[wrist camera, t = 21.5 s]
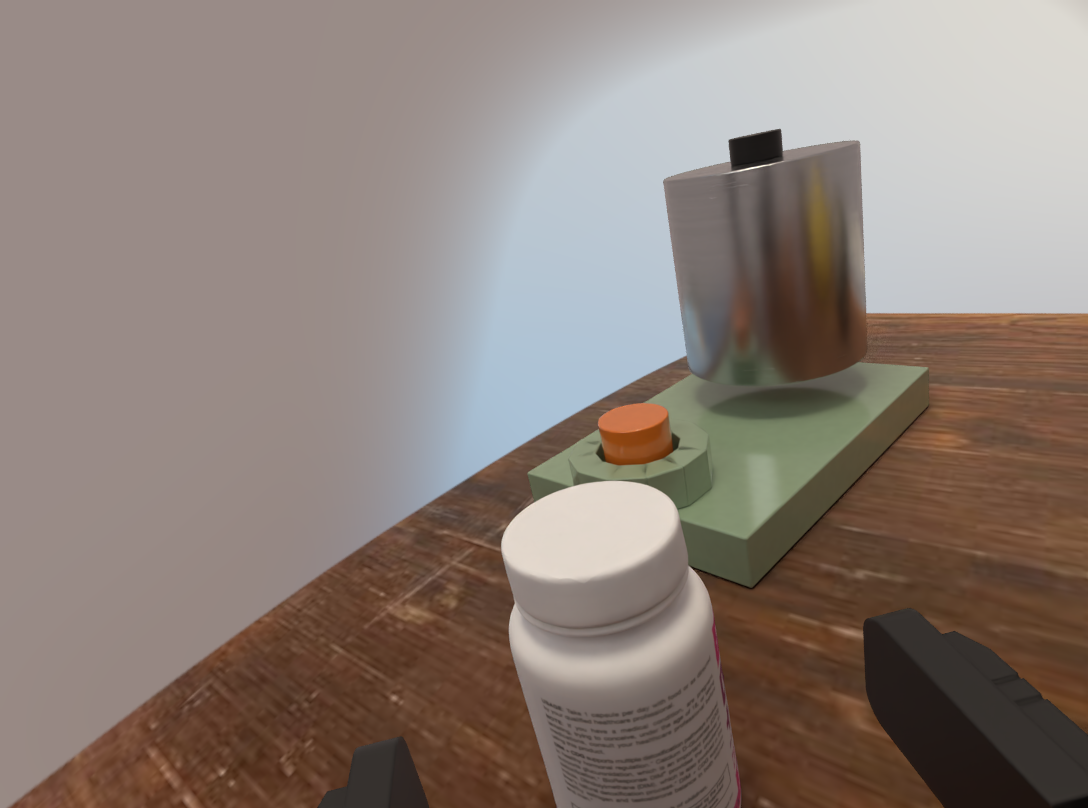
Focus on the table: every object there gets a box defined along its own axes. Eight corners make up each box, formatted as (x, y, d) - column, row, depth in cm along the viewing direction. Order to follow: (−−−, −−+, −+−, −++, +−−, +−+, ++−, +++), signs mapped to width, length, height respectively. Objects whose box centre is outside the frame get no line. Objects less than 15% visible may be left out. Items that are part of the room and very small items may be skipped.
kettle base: (733, 608, 23) (721, 511, 22) (517, 523, 32) (498, 450, 31) (929, 405, 35) (929, 333, 33) (730, 383, 43) (723, 325, 42)
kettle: (817, 395, 29) (799, 128, 25) (655, 377, 36) (622, 163, 32) (896, 333, 34) (891, 104, 31) (743, 327, 41) (723, 138, 37)
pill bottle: (785, 805, 16) (747, 513, 13) (637, 941, 14) (555, 630, 11) (658, 696, 20) (608, 454, 17) (528, 790, 18) (447, 533, 15)
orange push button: (644, 475, 26) (637, 436, 26) (590, 462, 28) (583, 425, 28) (688, 445, 28) (682, 407, 27) (633, 434, 30) (627, 399, 30)
